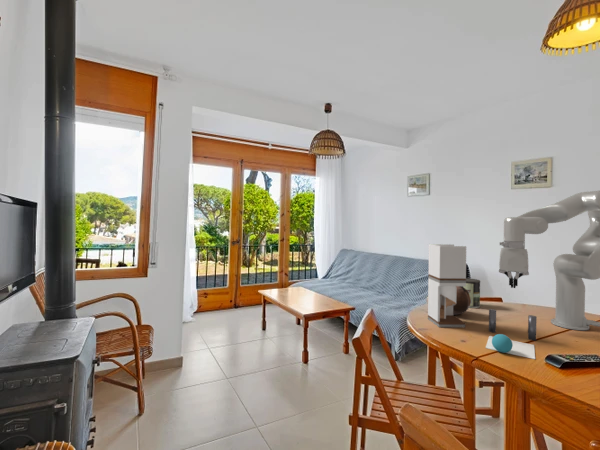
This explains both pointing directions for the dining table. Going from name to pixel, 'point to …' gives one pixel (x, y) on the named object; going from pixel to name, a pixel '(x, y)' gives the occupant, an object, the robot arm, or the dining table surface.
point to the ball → (502, 343)
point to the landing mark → (516, 348)
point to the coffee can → (473, 291)
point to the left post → (492, 320)
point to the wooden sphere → (461, 301)
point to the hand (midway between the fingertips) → (513, 287)
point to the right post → (532, 327)
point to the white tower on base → (445, 282)
